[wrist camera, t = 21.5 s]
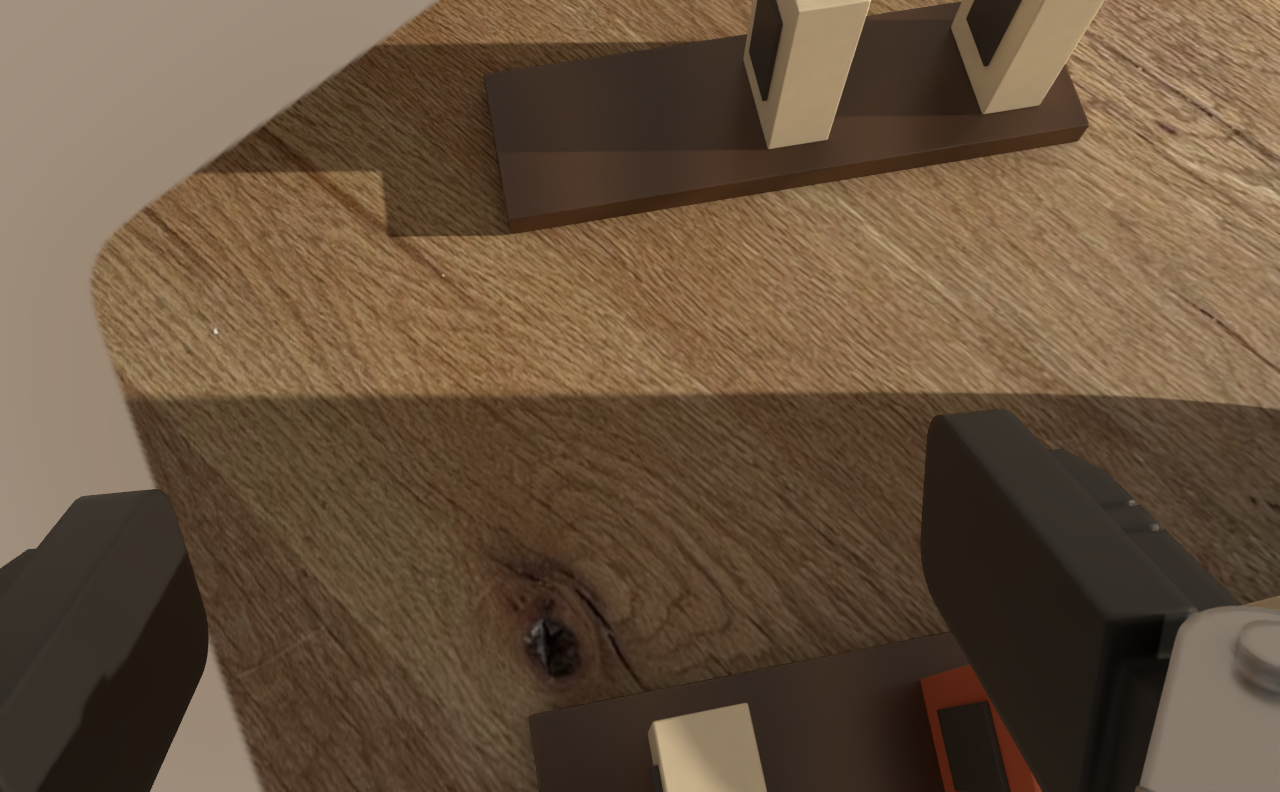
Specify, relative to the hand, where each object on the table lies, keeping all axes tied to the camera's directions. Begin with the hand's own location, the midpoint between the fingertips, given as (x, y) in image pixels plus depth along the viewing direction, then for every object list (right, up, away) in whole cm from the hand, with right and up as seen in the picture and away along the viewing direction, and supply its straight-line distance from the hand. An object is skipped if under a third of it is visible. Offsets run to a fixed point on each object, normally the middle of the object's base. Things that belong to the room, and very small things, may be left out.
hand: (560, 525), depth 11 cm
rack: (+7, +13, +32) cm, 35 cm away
